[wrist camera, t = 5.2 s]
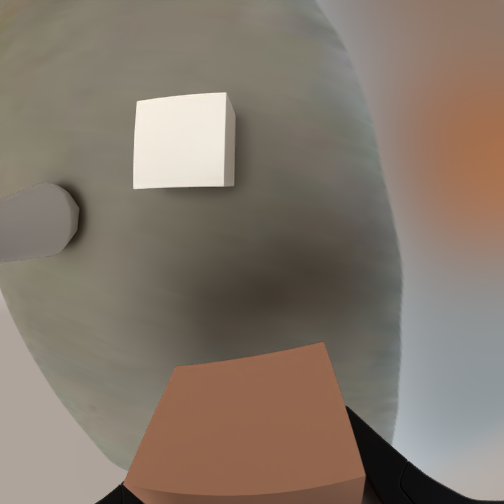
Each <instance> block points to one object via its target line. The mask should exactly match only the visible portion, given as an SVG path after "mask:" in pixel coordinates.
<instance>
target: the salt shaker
mask: <svg viewBox="0 0 504 504" xmlns="http://www.w3.org/2000/svg"><path fill="white" fill-rule="evenodd" d="M78 218H79V207H78V206H77V204H76V203H75V201H74V199H73V198H72V196H71V195H70V193H69V192H68V191H66V190H64V189H63V188H61V187H60V186H58V185H54V184H48V183H41V184H38V185H36V186H33V187H30V188H28V189H25V190H23V191H20V192H18V193H15V194H13V195H11V196H8V197H6V198H4V199H1V200H0V263H2V262H10V261H18V260H26V259H34V258H42V257H49V256H52V255H55V254H57V253H59V252H61V251H62V250H63V249H64V248H65V246H66V245H67V244H68V242H69V241H70V240H71V238H72V237H73V236H74V234H75V233H76V231H77V230H78Z"/></svg>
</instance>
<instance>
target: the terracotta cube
mask: <svg viewBox="0 0 504 504" xmlns="http://www.w3.org/2000/svg"><path fill="white" fill-rule="evenodd" d="M365 476H366V475H365V471H364V468H363V464H362V461H361V457H360V454H359V450H358V447H357V444H356V440H355V437H354V433H353V430H352V427H351V424H350V420H349V417H348V414H347V411H346V408H345V404H344V401H343V398H342V395H341V392H340V389H339V386H338V383H337V380H336V377H335V374H334V371H333V368H332V365H331V362H330V359H329V356H328V353H327V350H326V347H325V344H324V342H320V343H316V344H312V345H307V346H303V347H298V348H294V349H289V350H284V351H279V352H274V353H269V354H263V355H258V356H252V357H246V358H240V359H233V360H226V361H219V362H212V363H204V364H195V365H186V366H176V367H175V369H174V371H173V373H172V375H171V377H170V380H169V382H168V384H167V386H166V388H165V390H164V393H163V395H162V397H161V399H160V401H159V404H158V406H157V408H156V410H155V412H154V415H153V417H152V419H151V421H150V424H149V426H148V428H147V430H146V433H145V435H144V437H143V439H142V442H141V444H140V446H139V448H138V451H137V453H136V455H135V457H134V460H133V462H132V464H131V467H130V469H129V471H128V474H127V476H126V478H125V481H124V483H123V485H124V486H125V487H126V488H127V489H128V490H130V491H131V492H132V493H133V494H134V495H135V496H136V497H138V498H139V499H140V500H141V501H142V502H144V503H145V504H361V503H362V497H363V491H364V484H365Z"/></svg>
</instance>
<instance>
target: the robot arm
mask: <svg viewBox="0 0 504 504" xmlns="http://www.w3.org/2000/svg"><path fill="white" fill-rule="evenodd" d="M345 408H346V411H347V414H348V417H349V420H350V424H351V427H352V430H353V433H354V437H355V440H356V444H357V447H358V450H359V454H360V457H361V461H362V464H363V468H364V471H365V475H366V476H365V484H364V491H363V497H362V503H361V504H504V501H487V500H475V499H470V498H468V497H465V496H463V495H461V494H459V493H457V492H455V491H453V490H452V489H450V488H448V487H446V486H444V485H443V484H441V483H439V482H437V481H436V480H434V479H432V478H431V477H429V476H428V475H426V474H425V473H423V472H422V471H421V470H419V469H418V468H417V467H416V466H414V465H413V464H412V463H411V462H410V461H408V460H407V459H406V458H405V457H403V456H402V455H401V454H400V453H399V452H398V451H397V450H396V449H394V448H393V447H392V446H391V445H390V444H389V443H388V442H386V441H385V440H384V439H383V438H382V437H381V436H380V435H379V434H377V433H376V432H375V431H374V430H373V429H372V428H371V427H370V426H369V425H367V424H366V423H365V422H364V421H363V420H362V419H361V418H360V417H359V416H358V415H357V414H355V413H354V412H353V411H352V410H351V409H350V408H349V407H348V406H345ZM407 461H408V462H407ZM124 481H125V480H124ZM124 481H123V482H122V483H121V485H119V486H118V487H117V488H115V489H114V490H113V491H112V492H110V493H109V494H108V495H107V496H105V497H104V498H103V499H101V500H100V501H98V502H97V503H95V504H145V503H144V502H142V501H141V500H140V499H139V498H138V497H136V496H135V495H134V494H133V493H132V492H131V491H130V490H128V489H127V488H126V487H125V486H124V485H123V483H124Z"/></svg>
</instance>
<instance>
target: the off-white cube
mask: <svg viewBox="0 0 504 504" xmlns="http://www.w3.org/2000/svg"><path fill="white" fill-rule="evenodd" d="M235 124H236V114H235V112H234V110H233V107H232V105H231V102H230V100H229V98H228V95H227V93H207V94H193V95H182V96H173V97H164V98H157V99H150V100H143V101H137V109H136V122H135V139H134V175H133V188H134V189H142V188H164V187H209V186H234V169H235Z"/></svg>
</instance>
